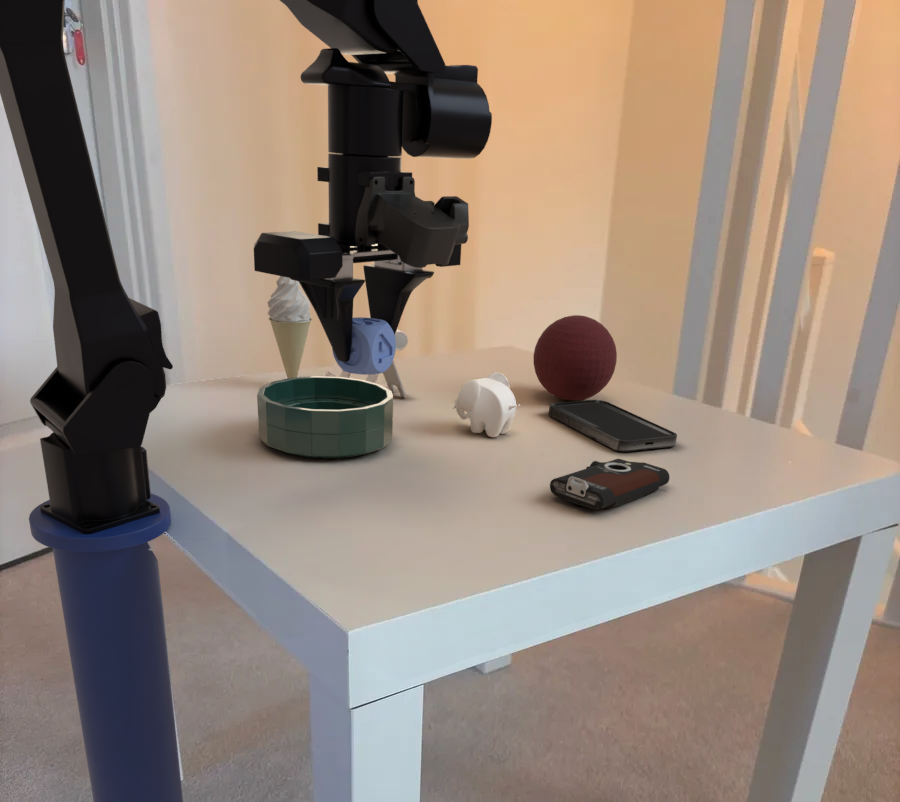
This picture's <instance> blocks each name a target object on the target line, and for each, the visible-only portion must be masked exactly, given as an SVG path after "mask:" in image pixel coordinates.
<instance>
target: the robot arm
mask: <svg viewBox="0 0 900 802" xmlns="http://www.w3.org/2000/svg"><path fill="white" fill-rule="evenodd" d="M279 1H280V2H281V3H282V4H284V5H285V7H287V8H288V10H289V11H290V12H291V14H292V15H293V16H294V17H295V18H296V20H297V22H298V23H300V24H301V26H302V27H304V29H306V30H307V31H309V32H310V33H311V34H313V35H314V36H315V37H316V38H317V39H318V40H320V41H321V42H322V43H324V45H326V46H327V47H328V48H322V49H321V50H320V51H319V54H318V56H317V58H316V59H315V60H314V61H313V62H312V63H311V64H310V65H309V66H307V68H306V69H305V70H303V71H302V72H301V74H300V81H301V82H302V83H303V84H305V85H315V86H316V85H317V86H325V87H327V146H328V147H327V149H328V150H327V152H328V153H327V165H328V166H317V169H316V171H317V182H325V183H328V184H327V185H328V188H327V189H328V222H318V223H317V232H318V233H317V234H314V233H310V232H303V231H298V230H297V231H296V230H291V231H272V232H269V231H268V232H261V233H260V235H259V236H258V238H257V240H256V241H255V243H254V244H253V265H254V266H253V267H254V272H258V273H264V274H269V275H273V276H279V277H280V276H283V277H288V278H290V279H291V280H295V281H299V283H300V285H299V286H301V288H302V290H303V293H305V294H304V295H305V296H306V298H307V299H308V301H309V302H310V305H311V306H312V308H313V310H314V312H315V314H316V316H317V318H318V320H319V322H320V324H321V326H322V329H323V331H324V333H325V335H326V337H327V340H328V342H329V344H330V347H331V349H332V348H333V351H334V353H335V355H336V357H337V359H338V360H339V361H343V362H348V361H349V360H350V353H351V345H352V322H353V318H354V300H355V297H356V295H357V294H358V292H359V291H360V290H361V288H362V287H363V285H364V284H365V289H366V290H365V291H366V296H367V303H368V304H367V305H368V311H369V317H370V318H375V319H381V320H384V321H386V322H387V323H388V324H389V325H390V327H391V328H392V330H393V332H394V335H395V333H396V330H397V329H398V327H399V324H400V321H401V319H402V316H403V314H404V311H405V308H406V305H407V304H408V301H409V299H410V297H411V294H412V293H413V291H414V290H416V288H417V287H419V286H420V285H421V284H422V283H423V282H425V281H426V280H428V279H431V278H432V277H433V276H434V274H435V271H433V270H427V269H423V268H426V267H427V266H429V265H434V266H436V267H440V268H444V267H446V268H447V267H454V266H461V258H462V245H464V244H467V242H468V240H469V235H468V231H469V227H470V219H469V218H470V215H469V203H468V202H467V201H465V200H464V199H462V198H460V197H459V196H456V195H453V196H452V195H450V196H448V195H447V196H441V197H440V198H439V199H438V200H437V202H435V201H433V200H423V199H421V198H419V197H418V196H416V193H415V189H416V186H415V185H416V181H415V178H414V176H413V172H411V171H402V161H403V160H402V159H403V158H402V156H403V151H404V152H405V153H406V154H407V155H408V156H411V157H413V158H431V159H454V160H458V159H459V160H460V159H461V160H472V159H475V158H476V157H478V156H480V155H481V153H482V152H483V150H485V148H486V145H487V143H488V141H489V138H490V136H491V131H492V124H493V122H492V121H493V113H492V112H491V111H490V103H489V99H488V97H487V94H486V92H485V91H484V90H485V89H483V88H482V86H481V85H480V83H478V75H479V67H477V65H471V64H450V65H446V63H445V60H444V58H443V56H442V53H441V51H440V49H439V47H438V45H437V42H436V40H435V39H434V37H433V34H432V32H431V29H430V27H429V26H428V23H427V20H426V18H425V16H424V13H423V11H422V10H421V6H420V5H419V3H418V1H419V0H279ZM65 5H66V0H0V98H1V102H2V105H3V109H4V112H5V116H6V120H7V123H8V126H9V130H10V133H11V137H12V141H13V143H14V147H15V150H16V155H17V157H18V161H19V165H20V169H21V172H22V176H23V179H24V183H25V186H26V189H27V193H28V197H29V201H30V203H31V208H32V211H33V214H34V218H35V222H36V225H37V228H38V232H39V235H40V239H41V243H42V246H43V249H44V253H45V257H46V260H47V263H48V267H49V271H50V274H51V278H52V282H53V289H54V297H53V299H54V300H53V317H52V318H53V319H52V321H53V322H52V330H53V341H54V349H55V351H54V352H55V359H56V367H55V368H54V370H53V371H52V372H51V373H50V374H49V376H47V378H46V380H45V381H44V382H43V383H42V384H41V385H40V386H39V388H38V389H37V390H36V391H35V393H33V394H32V396H31V397H30V399H29V403H30V405H31V407H32V408H33V410H34V413H35V414H36V415H37V418H38V419H39V421H40V423H41V424H42V425H43V426H45V427H47V428H48V429H50V431H51V432H52V433H50V434H49V435H48V436H45V437H41V438H39V442H40V449H41V454H42V461H43V467H44V474H45V480H46V485H47V491H48V497H49V499H48V500H50V503H48V504H44V505H41V506H40V511H41V513H43V514H45V515H47V516H49V517H51V518H53V519H55V520H57V521H59V522H61V523H63V524H65V525H67V526H69V527H71V528H73V529H75V530H77V531H79V532H81V533H83V534H93V533H96V532H100V531H103V530H106V529H109V528H112V527H116V526H119V525H122V524H125V523H129V522H132V521H135V520H138V519H142V518H145V517H148V516H151V515H155V514H158V513H159V512H160V507H159V506H158V505H156V504H154V503H152V502H149V501H147V500H148V499H150V497H151V493H152V491H151V481H150V472H149V463H148V454H147V452H148V451H147V449H146V448H145V447H144V446H142V445H143V441H144V437H145V434H146V431H147V426H148V421H149V418H150V414H151V413H152V412H154V410H156V408H157V407H158V405H159V403H160V402H161V400H162V399H163V398H164V397H165V395H166V390H167V378H166V373H165V372H166V371H165V369H167V370H172V369H173V368H174V366H173V364H172V362H171V361H170V359H169V358H168V356H167V354H166V352H165V349H164V345H163V336H162V322H161V318H160V314H159V311H158V310H156V309H154V308H152V307H150V306H147V305H146V304H144V303H141V302H139V301H137V300H134V299H133V298H131V297H129V296H128V294H127V292H126V291H125V289H124V286H123V283H122V282H121V278H120V274H119V270H118V265H117V261H116V257H115V254H114V249H113V246H112V242H111V241H112V240H111V237H110V234H109V233H110V232H109V230H108V226H107V221H106V217H105V214H104V209H103V205H102V201H101V197H100V194H99V188H98V185H97V180H96V177H95V173H94V168H93V164H92V159H91V157H90V152H89V148H88V144H87V140H86V135H85V131H84V128H83V123H82V120H81V116H80V111H79V108H78V103H77V99H76V95H75V92H74V88H73V83H72V79H71V75H70V71H69V66H68V63H67V59H66V55H65V48H64V24H65V9H66V8H65ZM344 55H346V56H351V57H352V58H353V59H354V60H355V61H357V62H353V61H348V59H346V57H344ZM387 75H394V79H395V80H394V81H390V79H389V76H387ZM371 262H373V264H364V265H363V267H362V269H363V275H364V279H363V278H358V277H354V264H361V263H362V264H363V263H371ZM333 351H332V352H333Z"/></svg>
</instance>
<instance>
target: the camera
mask: <svg viewBox="0 0 900 802" xmlns="http://www.w3.org/2000/svg"><path fill="white" fill-rule="evenodd" d="M670 478H671V477H670V473H669V471H668V470H667V469H665V468H664V467H660V466H656V465H653V464H650V463H647V462H639V461H628V460H625V459H621V458H615V459H613V460H608V461H605V462H602V461H601V462H600V461H598V460H593V461H592V462H591V463H590V464H589V466H586V467H585V468H584V469H581V470H577V471H574V472H571V473H567V474H565V475H561V476H558V477H555V478H552V479H551V480H550V483H549V490H550V492H551V494H553V496H555V497H557V498H559V499H562V500H564V501H566V502H569V503H572V504H576V505H578V506H581V507H585V508H589V509H592V510H593V511H594V510H595V511H597V510H602V509H604V508H606V509H612V508H615V507H618V506H620V505H623V504H625V503H628V502H631V501H633V500H636V499H639V498H641V497H644V496H647V495H649V494H652V493H655V492H657V491H658V490H659V489H660V487H663V486H665V485H667V484H668V483H669V482H670Z"/></svg>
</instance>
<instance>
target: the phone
mask: <svg viewBox="0 0 900 802" xmlns="http://www.w3.org/2000/svg"><path fill="white" fill-rule="evenodd" d="M548 416H550V417H551V418H553V419H555V420H557V421H559V422H561V423H563V424H564V425H567V426H568V427H570V428H572V429H573V430H576V431H578V432H580V433H581V434H583V435H586V436H587V437H589V438H591V439H593V440H595V441H597V442H599V443H600V444H603V445H605V446H607V447H609V448H611V449H612V450H615V451H618V452H623V453H624V452H627V453H628V452H636V451H637V452H638V451H646V450H654V449H655V450H656V449H664V448H671V447H672V448H673V447H676V445H677V444H676V443H677V438H678V434H677V433H676V432H674V431H672V430H670V429H668V428H665V427H664V426H661V425H659V424H656V423H655V422H653V421H650V420H648V419H646V418H644V417H642V416H639V415H637V414H634V413H633V412H630V411H628V410H626V409H625V408H622V407H619V406H617V405H616V404H613V403H610V402H609V401H606V400H603V399H602V400H601V399H589V400H587V399H586V400H579V401H564V402H563V401H561V402H553V403H550V404H549V405H548Z"/></svg>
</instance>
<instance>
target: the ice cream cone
mask: <svg viewBox="0 0 900 802" xmlns="http://www.w3.org/2000/svg"><path fill="white" fill-rule="evenodd" d="M276 285H277V287H276V289H275V290H274V291H273V292H272V294H270V298H269V300H268V301H267V302H266V303H267V307H268V308H269V309H268V311H267V315H268V316H269V317H268V320H269V321H270V325H271V328H272V331H273V335H274V338H275V342H276V344H277V347H278V352H279V354H280V358H281V362H282V365H283V368H284V371H285V374H286V379H288V378H297V377H298V374H299V370H300V366H301V362H302V358H303V354H304V350H305V346H306V342H307V339H308V335H309V329H310V326H311V323H312V321H313V319H312V318H311V312H310V310H311V309H310V308H311V302H310V301H309V299H308V297H307V295H306V294H304V292H303V291H302V290H301V288H300V286H301V285H300V283H299V281H295V280H291V279H290V278H288V277H283V276H279V277H278V279H277V280H276Z"/></svg>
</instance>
